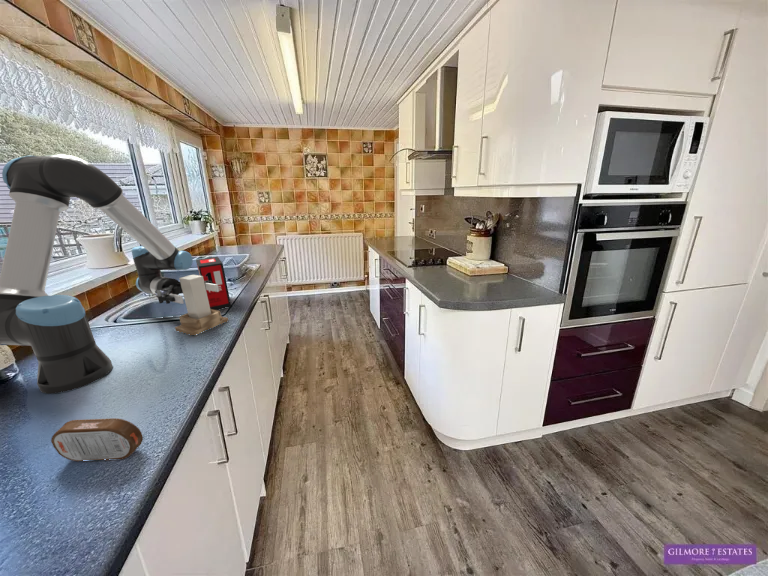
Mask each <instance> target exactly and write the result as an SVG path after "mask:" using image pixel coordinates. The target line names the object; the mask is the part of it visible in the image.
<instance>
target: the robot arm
mask: <svg viewBox="0 0 768 576" xmlns="http://www.w3.org/2000/svg"><path fill="white" fill-rule="evenodd" d="M1 173H2V175H1V177H2V181H3V182H4V184H6V187H7V189H9V193H8V196H9V197H10V199H12V200H13V201H14V202H15V206H14V209H13V210H14V211H13V215H12V220H11V225H10V228H9V229H10V230H9V233H8V237H7V242H6V247H5V250H4V251H5V252H4V256H3V261H2V266H1V269H0V346H30V347H31V349H32V350H33V353H34V355H35V358H36V360H37V363H38V365H37V378H36V384H37V387H38V389H39V391H40V393H42V394H45V395H47V394H48V395H50V394H51V395H52V394H60V393H66V392H69V391H73V390H78V389H80V388H83V387H86V386H88V385H91V384H93V383H95V382H96V381H98V380H100V379H102V378H104V377H105V376H107V375H108V374H109V373H110V372H111V371H112V370H113V367H114V366H113V363H112V361H111V358H109V356H108V355H107V354H106V353H105V352H104V351H103V350H102V349H101V348H100V347H99V346H98V345H97V343H96V340H95V337H94V334H93V331H92V329H91V326H90V322H89V320H88V317H87V315H86V314H87V313H86V310H85V308H84V306H83V304H82V302H81V300H79V299H78V297H75V296H72V295H67V294H53V295H49V294H47V293H46V291H45V290H46V286H47V285H46V284H47V280H48V275H49V270H50V264H51V260H52V254H53V250H54V249H53V248H54V246H55V245H54V244H55V239H56V234H57V230H58V222H59V218H60V213H62V212H64V211H67V210H69V205H70V203H71V202H70V201H71V198H77V199H80V200H82V201H83V202H85V203H86V204H88V205H89V206H90V207H92V208H94V209H99V210H101V211H102V212H103V213H104V214H105V215H106V216H107V217H109V218H110V219H111V220H112V221H113V222H114V223H116V225H118V226H119V227H120V228H121V230H123V231H125V232H126V233H127V234H128V235H129V236H131V238H132V239H134V240H135V241H136V242H137V243H138V244H140V246H134V247H132V248H131V255H132V260H133V263H134V266H135V269H136V272H137V276H138V277H137V278H136V280H135V286H136V288H137V289H138V290H139V291H140V292H143V293H146V294H150V295H151V294H153V295H154V296H156V298H157V299H158V302H159V304H163V303H164V302H165V303H166V305H168V304H171V302H172V303H176V304H181V305H182V304H185V301H184V297H183V295H180V294H183V291H182V287H181V283H180V280H178V279H176V278H172V277H167V276H166V277H165V276H162V271H187V270H189V269H190V268H191V267H192V265H193V264H194V263H193V261H194V260H193V256H192V254H191V253H190V252H188V251H185V250H179V249H178V248H177V247H176V246H175V245H174V244H173V243H172V242H171V241H170V240H169V239H168V238H167V237H166V236H165V235H164V234H163V233H162V232H161V231H160V230H159V229H158V228H157V227H156V226H155V225H154V224H153V223H152V222H151V221H150V220H149V219H148V218H147V217H146V216H145V215H144V214H143V213H142V212H141V211H140V210H139V209H138V208H137V207H136V206H135V205H134V204H133V203H132V202H131V201H130V200H129V199H128V198H127V197H126V196H125V195H123V194H124V191H123V189H122V188H121V187H120V186H119V185H118V183H116V182H115V181H114V180H113V179H112V178H111V177H110V176H108V175H107V174H106V173H105V172H104V171H102V170H100V169H99V168H98V167H96V166H94V164H92V163H90V162H88V161H86V160H84V159H83V158H80V157H77V156H74V155H70V154H64V153H63V154H61V153H59V154H52V155H51V154H50V155H25V156H20V157H16V158H13V159H11V160H9V161H8V162H7V163H6V164H5V165H4V166H3V169H2V171H1ZM204 283H205V288H206V290H210V291H215V292H219V289H218V285H217V284H212V281H208V280H207V281H204Z"/></svg>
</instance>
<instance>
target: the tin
mask: <svg viewBox="0 0 768 576" xmlns="http://www.w3.org/2000/svg"><path fill="white" fill-rule="evenodd" d="M143 437H144V436H143V433H142V431H141V430H140V428H139V427H138V426H136V425H135V424H134V423H132V422H130V421H129V420H126V419H122V418H113V417H112V418H94V419H93V418H90V419H89V418H88V419H72V420H69V421H67V422H65V423H64V424H63V425H62V426H61V427H60V428H59V429H58V430H57V431H56V432H54V434H53V435H52V437H51V439H50V442H51V445H52V447H53V448H54V450H55V451H56V452H57V453H58V455H59V456H60V457H62V458H64V459H66V460H69V461H73V462H79V461H83V460H104V459H106V460H105V461H110V460H109V459H121V460H125V459H127V458H129V457H130V456H132V455H133V453H134V452H135V451H136V450H137V449H138V448H139V447H140V446H141V445H142V443H143V439H144V438H143ZM83 462H84V461H83Z"/></svg>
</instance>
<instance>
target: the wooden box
mask: <svg viewBox="0 0 768 576" xmlns="http://www.w3.org/2000/svg"><path fill="white" fill-rule="evenodd" d="M210 310H211V314H210V315H208V316H205V317H203V318H200V319H198V320H197V319H194V318H190V317H189V315H188V312H187V313H185V314H182V315H180V316H179V321H180V324H179V325H177V326H175V327H174V329H175V330H174V331H176V332H177V331H179V332H178V333H181V332H183V333H182V334H184V333H186V334H185V335H188V334H190V335H189V336H191V335H196V334H199V333H201V332H203V331H205V330H208V329H210V328H212V329H214V328H213V327H215V326H217V325H219V324H221V325H223V324H222V323H224V322H226V323H228V322H229V317H227V316H222V314H221V311H220V310H213V309H210ZM227 321H228V322H227ZM224 324H225V323H224ZM219 326H220V325H219ZM217 327H218V326H217ZM215 328H216V327H215ZM210 330H211V329H210ZM208 331H209V330H208ZM205 332H206V331H205ZM203 333H204V332H203ZM201 334H202V333H201ZM199 335H200V334H199ZM196 336H197V335H196Z"/></svg>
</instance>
